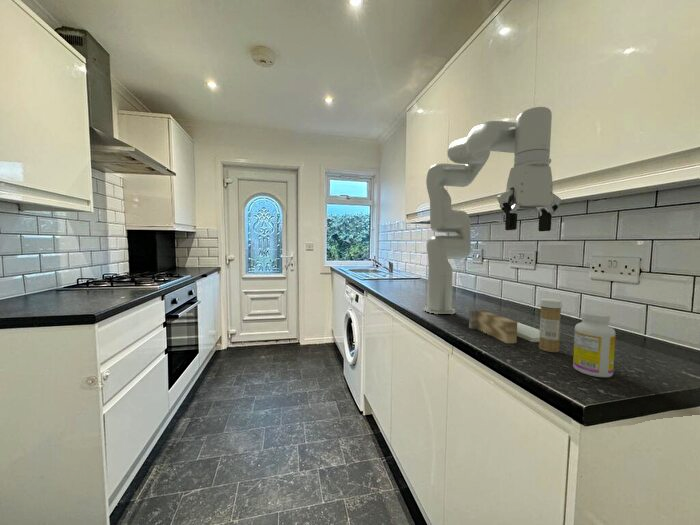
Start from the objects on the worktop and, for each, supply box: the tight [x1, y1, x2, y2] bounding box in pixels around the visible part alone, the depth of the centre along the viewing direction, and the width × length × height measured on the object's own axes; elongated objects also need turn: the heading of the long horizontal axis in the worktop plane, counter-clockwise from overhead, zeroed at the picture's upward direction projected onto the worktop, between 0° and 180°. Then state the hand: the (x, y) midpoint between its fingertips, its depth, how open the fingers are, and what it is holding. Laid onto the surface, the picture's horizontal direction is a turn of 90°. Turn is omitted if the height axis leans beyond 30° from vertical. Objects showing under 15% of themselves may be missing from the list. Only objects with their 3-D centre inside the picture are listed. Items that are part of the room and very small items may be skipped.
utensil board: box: [516, 321, 540, 343], centre depth 89 cm, size 16×9×1 cm, turn 9°
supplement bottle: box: [572, 310, 616, 378], centre depth 61 cm, size 7×7×13 cm
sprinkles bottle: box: [538, 298, 563, 353], centre depth 74 cm, size 5×5×14 cm
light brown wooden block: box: [468, 309, 518, 344], centre depth 86 cm, size 15×7×6 cm, turn 9°
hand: (527, 230), depth 71 cm, fingers open, 9 cm apart
